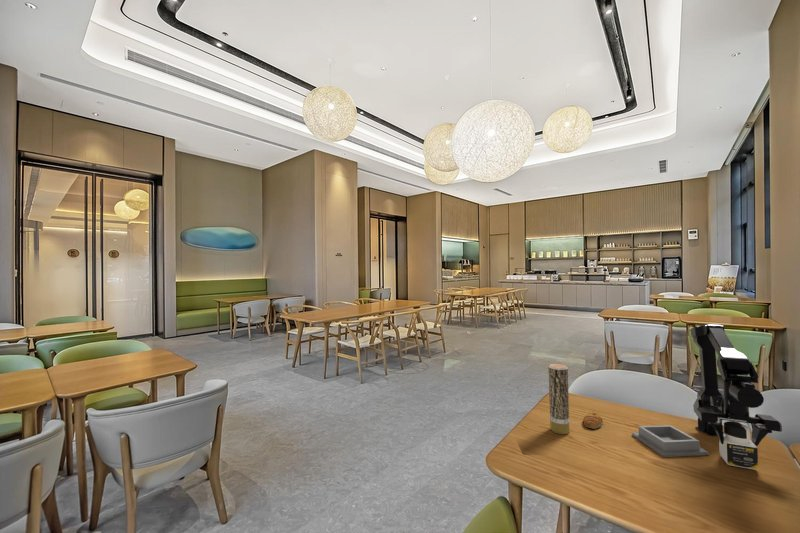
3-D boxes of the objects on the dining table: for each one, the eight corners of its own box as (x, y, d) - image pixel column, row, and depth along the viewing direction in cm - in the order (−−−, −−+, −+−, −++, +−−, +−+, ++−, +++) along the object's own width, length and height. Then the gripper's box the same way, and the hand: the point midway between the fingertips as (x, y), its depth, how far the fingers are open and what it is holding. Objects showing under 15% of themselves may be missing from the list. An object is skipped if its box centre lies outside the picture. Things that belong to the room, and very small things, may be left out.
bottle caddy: (671, 434, 129) (671, 423, 129) (708, 455, 114) (707, 442, 114) (632, 435, 129) (631, 424, 129) (663, 456, 114) (663, 444, 114)
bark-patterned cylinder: (565, 427, 137) (563, 363, 137) (572, 435, 130) (570, 368, 130) (547, 427, 137) (546, 363, 138) (553, 435, 131) (551, 368, 131)
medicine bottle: (727, 465, 107) (726, 426, 108) (719, 454, 114) (717, 417, 114) (758, 470, 104) (757, 430, 104) (748, 459, 110) (747, 421, 111)
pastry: (600, 432, 132) (599, 422, 133) (580, 427, 137) (580, 418, 137) (603, 423, 140) (603, 414, 140) (585, 419, 144) (584, 410, 144)
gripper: (762, 391, 112) (764, 440, 112) (690, 384, 121) (691, 430, 120) (781, 403, 102) (784, 457, 102) (701, 395, 111) (703, 444, 110)
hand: (737, 446), depth 109 cm, fingers closed on medicine bottle, 7 cm apart
